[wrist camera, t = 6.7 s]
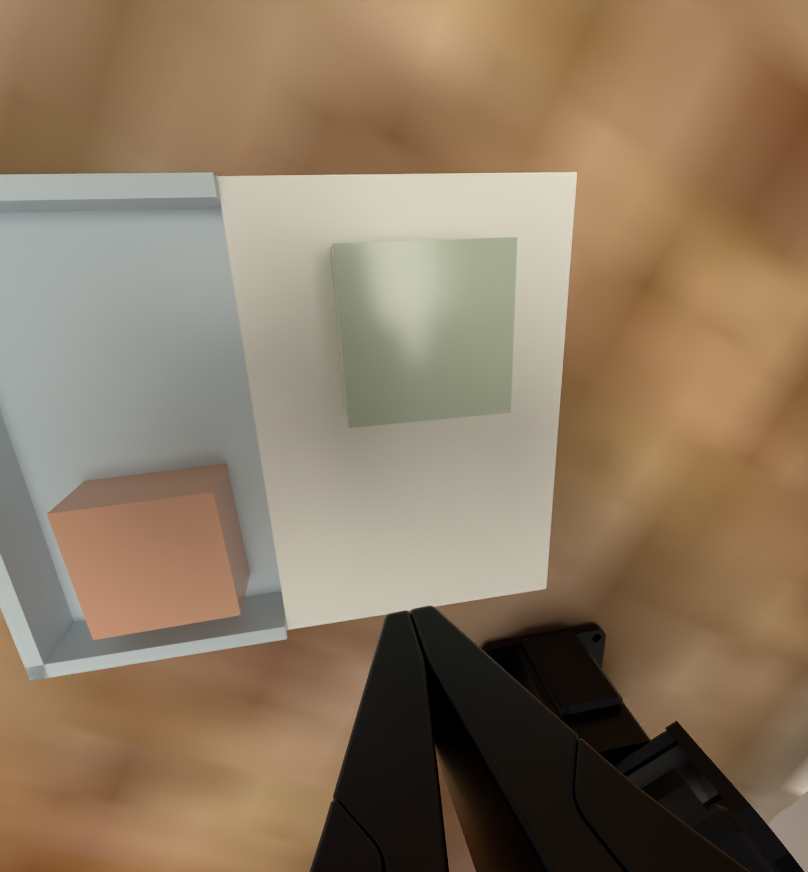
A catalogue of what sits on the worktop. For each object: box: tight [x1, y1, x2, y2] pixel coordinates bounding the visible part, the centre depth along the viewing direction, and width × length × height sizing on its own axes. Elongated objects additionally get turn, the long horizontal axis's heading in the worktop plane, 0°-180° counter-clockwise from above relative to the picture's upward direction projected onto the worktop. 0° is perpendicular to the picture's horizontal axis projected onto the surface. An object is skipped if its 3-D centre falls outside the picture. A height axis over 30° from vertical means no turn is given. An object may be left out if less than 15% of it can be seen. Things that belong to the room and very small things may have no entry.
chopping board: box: [217, 172, 577, 630], centre depth 18 cm, size 16×11×2 cm
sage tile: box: [330, 237, 517, 428], centre depth 14 cm, size 5×5×2 cm
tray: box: [0, 172, 288, 681], centre depth 16 cm, size 16×9×2 cm, turn 2°
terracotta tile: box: [47, 464, 250, 640], centre depth 17 cm, size 5×5×2 cm
